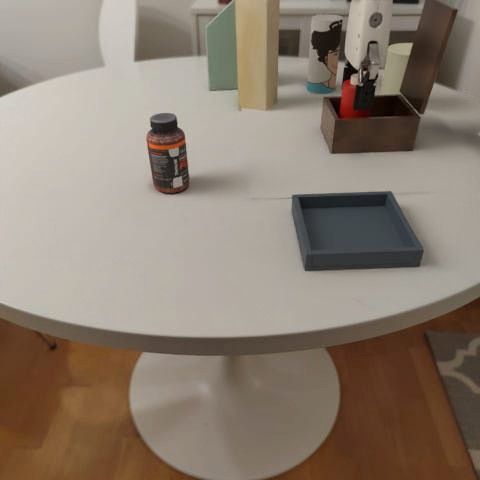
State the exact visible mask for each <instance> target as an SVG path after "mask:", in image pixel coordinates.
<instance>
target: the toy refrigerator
mask: <svg viewBox="0 0 480 480" xmlns="http://www.w3.org/2000/svg"><path fill="white" fill-rule="evenodd" d="M280 2H281V1H280V0H235V9H236V12H235V16H236V42H237V70H238V89H237V101H238V102H237V103H238V106H237V107H238V111H240V112H241V111H242V109H245V110H246V109H247V110H253V111H254V110H255V111H265V112H267V111H268V110H269V109H270V108H271V107H272V106H273V105H276V104H277V103H278V95H279V94H278V91H279V90H278V89H279V88H278V85H279V42H280V4H281V3H280Z"/></svg>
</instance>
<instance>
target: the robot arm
mask: <svg viewBox="0 0 480 480" xmlns="http://www.w3.org/2000/svg"><path fill="white" fill-rule="evenodd" d="M393 3H394V1H393V0H351V1H350V6H349V13H348V20H347V26H346V33H345V42H344V56H345V58H344V67H343V70H342V78H341V79H342V80H341V87H340V89H341V90H342V88H343V82H344V81H346V80H349V79H351V75H353V74H358V85H356V88H355V95H354V102H353V109H354V110H371V109H372V107H373V101H374V95H376V90H377V86H378V78H379V76H380V75H379V70H384V69H385V64H386V57H387V51H388V47H389V42H390V37H391V36H390V35H391V27H392V19H393V6H394V5H393ZM364 72H365V73H364ZM363 74H365V75H364V77H363Z"/></svg>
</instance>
